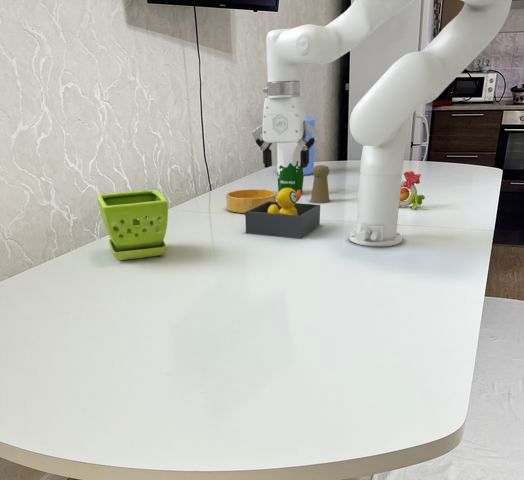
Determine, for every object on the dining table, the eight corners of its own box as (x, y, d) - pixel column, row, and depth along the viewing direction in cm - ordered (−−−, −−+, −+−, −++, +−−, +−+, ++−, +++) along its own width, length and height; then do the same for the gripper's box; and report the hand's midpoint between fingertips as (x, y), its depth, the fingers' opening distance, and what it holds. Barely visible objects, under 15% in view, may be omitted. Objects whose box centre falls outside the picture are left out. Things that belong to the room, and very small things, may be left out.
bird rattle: (396, 216, 158) (425, 206, 153) (384, 180, 155) (414, 168, 150) (400, 212, 163) (429, 202, 158) (389, 177, 160) (418, 166, 155)
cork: (307, 202, 169) (308, 166, 164) (315, 198, 174) (315, 163, 169) (325, 203, 166) (326, 167, 161) (332, 200, 171) (333, 164, 166)
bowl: (263, 215, 153) (263, 200, 150) (218, 212, 158) (217, 196, 156) (283, 205, 165) (283, 190, 163) (240, 202, 171) (240, 188, 169)
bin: (300, 238, 130) (301, 216, 127) (245, 233, 135) (245, 211, 133) (319, 225, 141) (320, 204, 139) (268, 221, 147) (267, 201, 144)
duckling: (292, 221, 143) (292, 184, 139) (307, 225, 140) (307, 186, 135) (262, 229, 136) (261, 190, 132) (276, 233, 133) (276, 192, 128)
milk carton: (304, 191, 185) (306, 130, 176) (300, 196, 178) (301, 132, 169) (280, 190, 187) (280, 130, 178) (275, 195, 180) (274, 132, 170)
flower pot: (104, 248, 125) (95, 193, 119) (162, 242, 129) (157, 189, 123) (111, 265, 113) (101, 205, 107) (174, 257, 117) (169, 199, 112)
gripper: (244, 92, 124) (248, 168, 131) (313, 89, 117) (313, 169, 124) (257, 92, 130) (260, 164, 137) (324, 88, 123) (323, 165, 130)
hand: (285, 167), depth 131 cm, fingers open, 9 cm apart
